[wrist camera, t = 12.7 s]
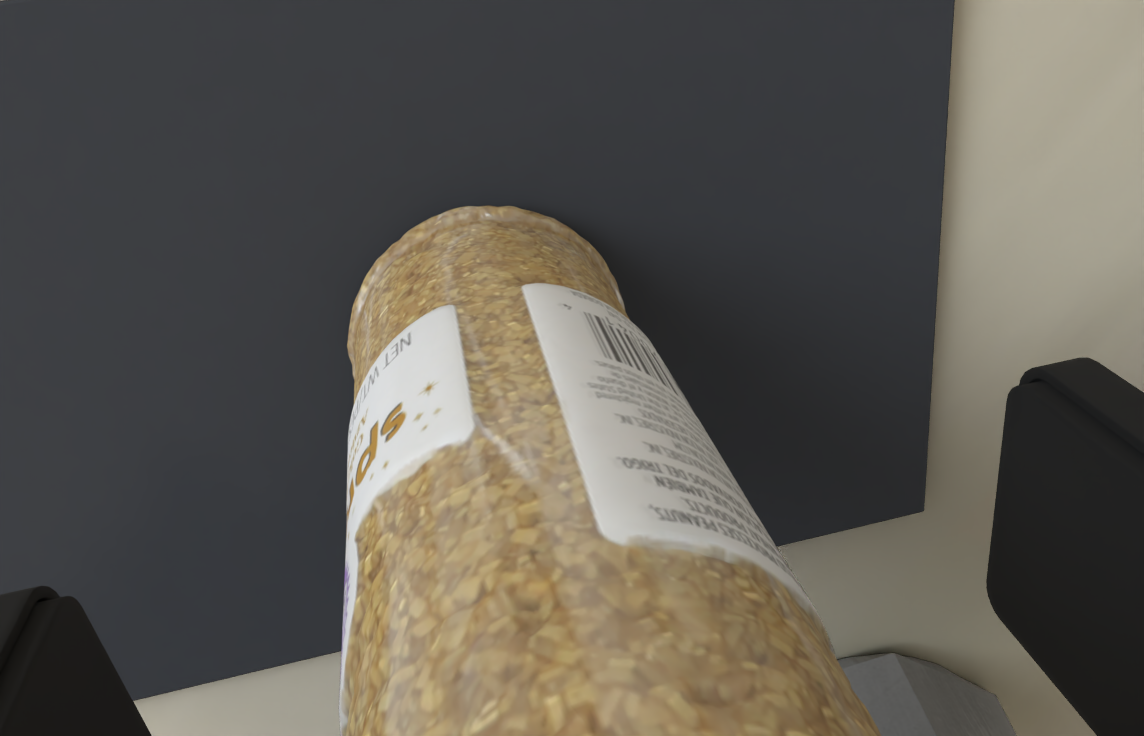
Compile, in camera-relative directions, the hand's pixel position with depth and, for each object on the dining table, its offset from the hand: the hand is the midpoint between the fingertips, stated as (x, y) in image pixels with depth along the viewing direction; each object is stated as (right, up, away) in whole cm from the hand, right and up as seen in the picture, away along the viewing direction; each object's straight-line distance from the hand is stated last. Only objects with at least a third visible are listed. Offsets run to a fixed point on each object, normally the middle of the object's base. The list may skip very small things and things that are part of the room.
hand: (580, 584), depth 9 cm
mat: (-3, +3, +6) cm, 7 cm away
